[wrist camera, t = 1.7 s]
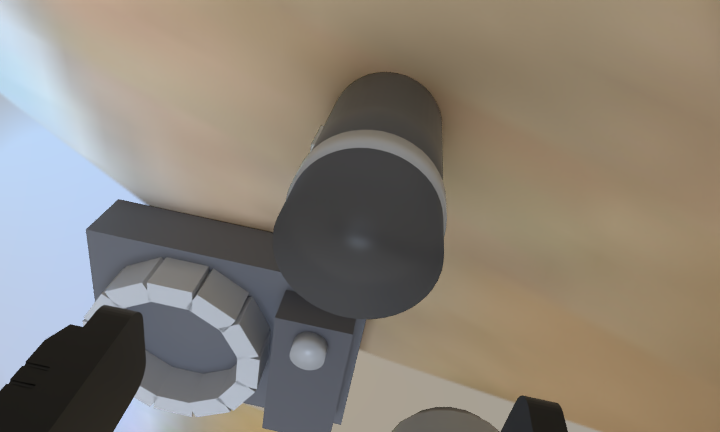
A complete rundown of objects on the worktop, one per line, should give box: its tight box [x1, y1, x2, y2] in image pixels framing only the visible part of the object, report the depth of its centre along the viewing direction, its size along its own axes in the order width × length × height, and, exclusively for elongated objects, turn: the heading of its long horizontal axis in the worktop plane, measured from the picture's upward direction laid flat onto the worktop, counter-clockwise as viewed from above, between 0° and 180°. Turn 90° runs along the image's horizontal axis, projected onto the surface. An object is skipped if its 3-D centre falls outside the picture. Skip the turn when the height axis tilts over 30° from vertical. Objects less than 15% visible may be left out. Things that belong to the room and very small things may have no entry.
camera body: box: [83, 200, 366, 432], centre depth 28 cm, size 14×10×6 cm
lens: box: [273, 72, 447, 319], centre depth 20 cm, size 5×5×10 cm
